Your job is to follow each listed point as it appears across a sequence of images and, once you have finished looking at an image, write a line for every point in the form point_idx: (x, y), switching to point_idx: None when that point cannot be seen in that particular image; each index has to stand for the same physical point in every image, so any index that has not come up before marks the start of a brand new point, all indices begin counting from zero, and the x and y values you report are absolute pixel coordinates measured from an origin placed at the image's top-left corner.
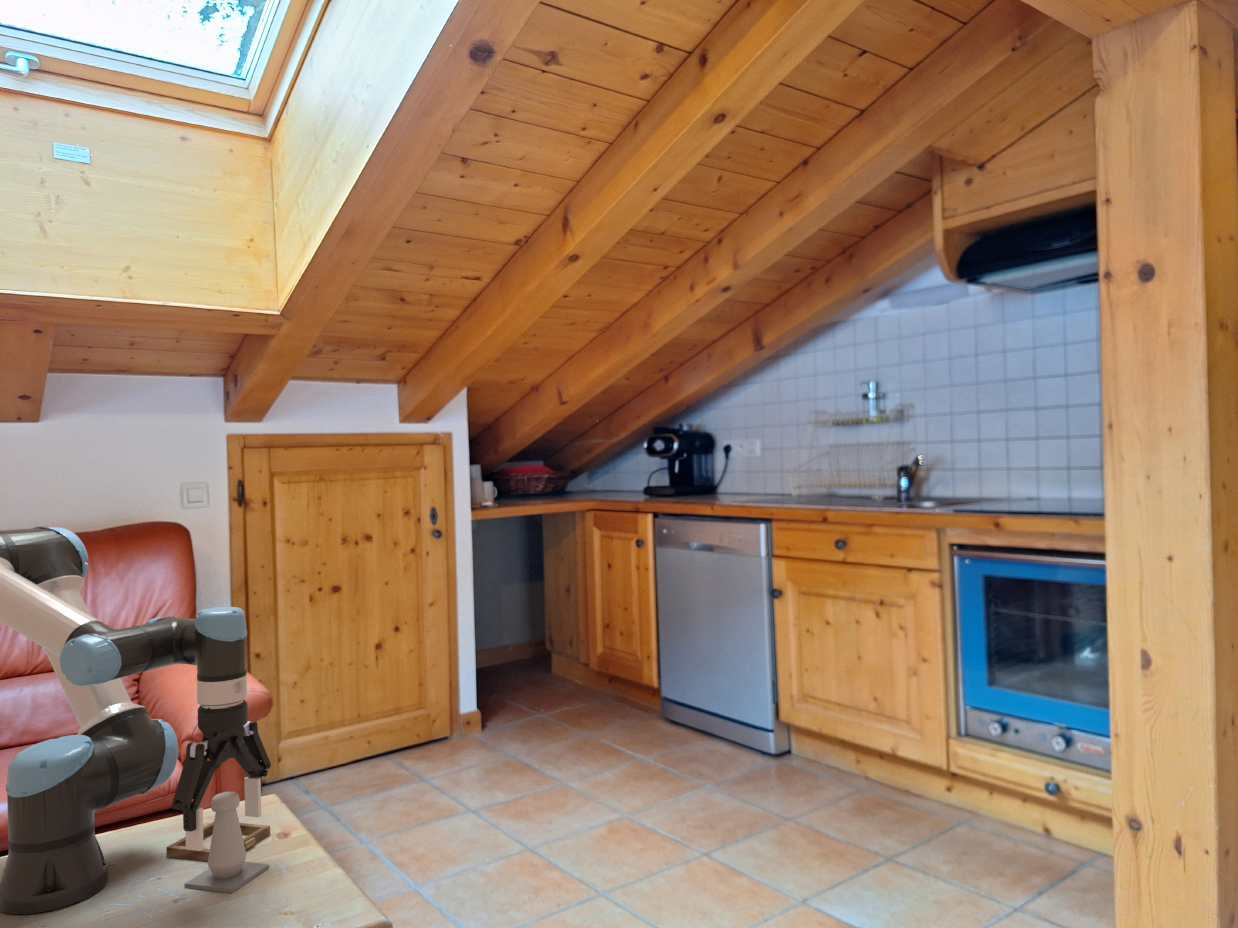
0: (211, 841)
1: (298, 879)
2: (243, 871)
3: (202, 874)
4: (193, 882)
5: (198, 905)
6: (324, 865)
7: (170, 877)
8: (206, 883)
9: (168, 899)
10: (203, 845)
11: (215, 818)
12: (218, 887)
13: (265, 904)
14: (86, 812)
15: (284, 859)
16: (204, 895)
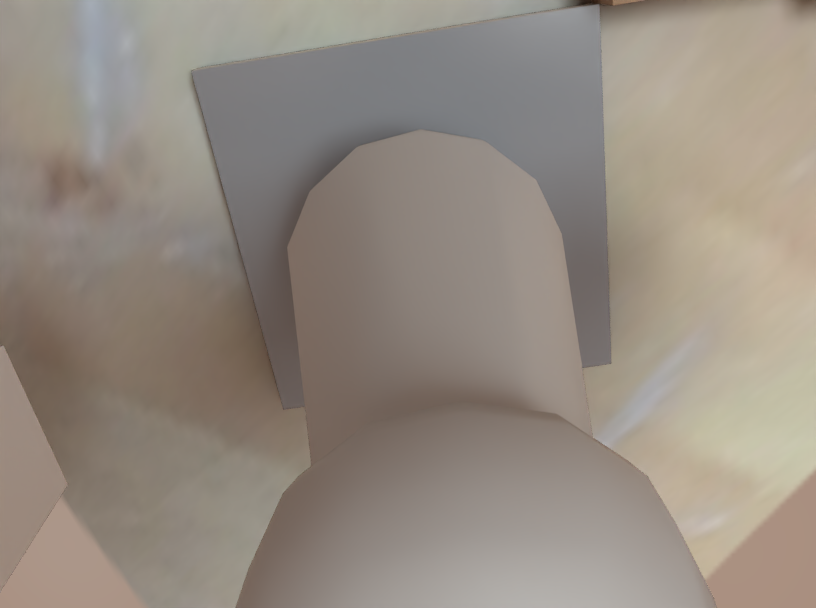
0: (320, 274)
1: None
2: None
3: (345, 71)
4: (233, 120)
5: (104, 350)
6: (700, 570)
7: None
8: (265, 217)
9: (40, 120)
10: (53, 507)
11: (336, 429)
12: (264, 328)
13: None
14: None
15: (727, 349)
16: (194, 286)
